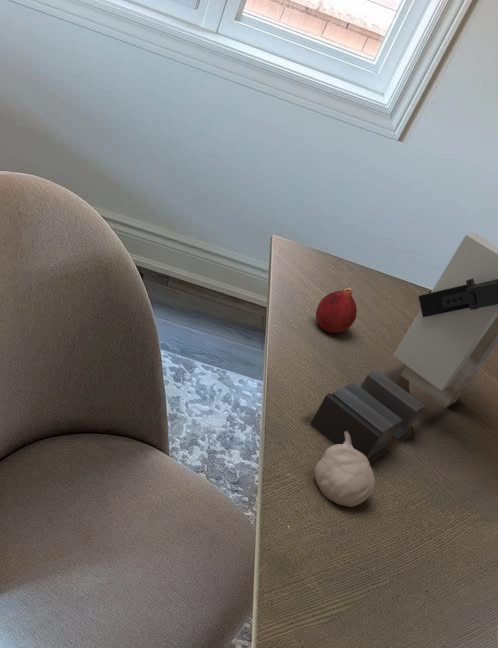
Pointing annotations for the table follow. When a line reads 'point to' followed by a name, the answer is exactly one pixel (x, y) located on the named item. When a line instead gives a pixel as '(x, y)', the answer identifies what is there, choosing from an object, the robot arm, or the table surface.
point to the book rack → (390, 404)
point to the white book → (452, 318)
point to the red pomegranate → (336, 311)
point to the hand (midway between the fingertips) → (427, 303)
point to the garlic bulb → (345, 474)
